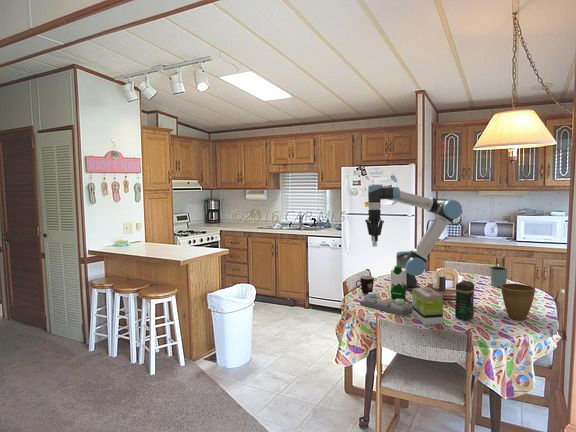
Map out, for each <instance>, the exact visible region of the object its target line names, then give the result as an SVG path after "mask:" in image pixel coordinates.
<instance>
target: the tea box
mask: <svg viewBox="0 0 576 432" xmlns="http://www.w3.org/2000/svg"><path fill="white" fill-rule="evenodd" d="M411 289H412V290H411V291H412V292H411V295H412V299H411V300H412V302H411V304H412V306H411V307H412V313H411V314H412V316H413V317H414V318H416V320H417V321H419V322H420V323H421V324H422V325H424V326H431V325H442V324H444V295H442V294H441V293H439V292H438V291H436V290H435V289H433V288H431V287H419V288H416V287H412V288H411Z"/></svg>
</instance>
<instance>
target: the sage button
mask: <svg viewBox="0 0 576 432" xmlns="http://www.w3.org/2000/svg"><path fill="white" fill-rule="evenodd" d="M394 302H395V304H398V305H403V304H404V302H405V299H404V300H403V299H395V300H394Z"/></svg>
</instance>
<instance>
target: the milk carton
mask: <svg viewBox="0 0 576 432" xmlns="http://www.w3.org/2000/svg"><path fill="white" fill-rule="evenodd" d="M406 294H407V288H406V269H404V268H402V267H401V266H397V265H395V266H394V267H393V268H392V269H391V270H390V299H394V301H395V299H403V300H404V301H405V300H406V297H407V295H406Z"/></svg>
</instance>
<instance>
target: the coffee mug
mask: <svg viewBox="0 0 576 432" xmlns="http://www.w3.org/2000/svg"><path fill="white" fill-rule="evenodd" d="M359 279H360V280H356V282H355V286H356V287H357V288H358V289H360V290H361V293H362V294H363V293H364V294H363V295H368V293H369V292H374V291H373V290H374V279H375V277H374V276H372V275H362V276H360V278H359ZM358 282H360V286H359V285H358Z"/></svg>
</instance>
